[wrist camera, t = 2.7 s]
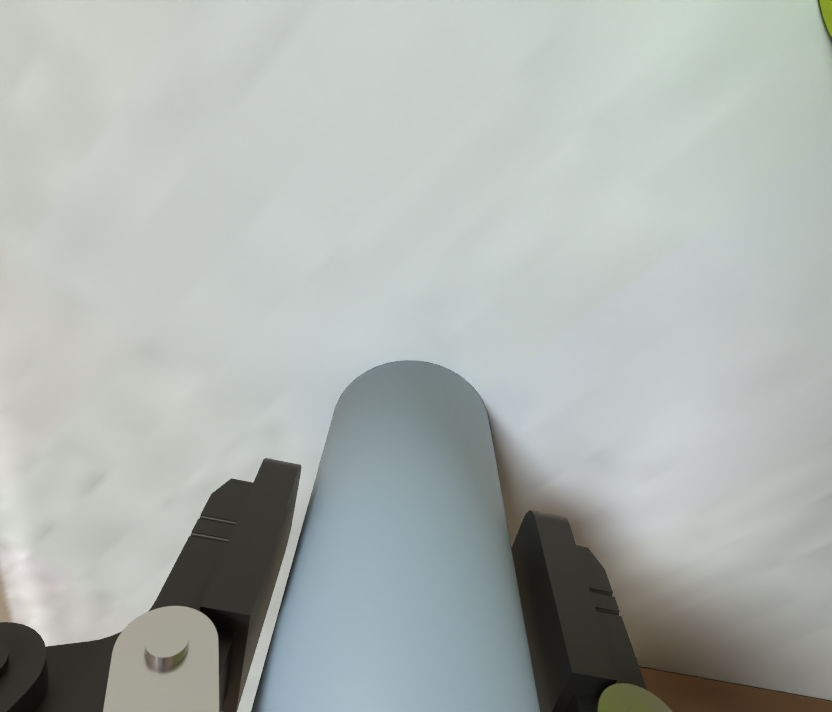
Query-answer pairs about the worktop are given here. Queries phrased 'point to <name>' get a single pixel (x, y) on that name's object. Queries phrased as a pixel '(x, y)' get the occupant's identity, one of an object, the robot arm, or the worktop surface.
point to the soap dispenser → (827, 13)
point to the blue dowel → (402, 562)
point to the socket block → (723, 695)
